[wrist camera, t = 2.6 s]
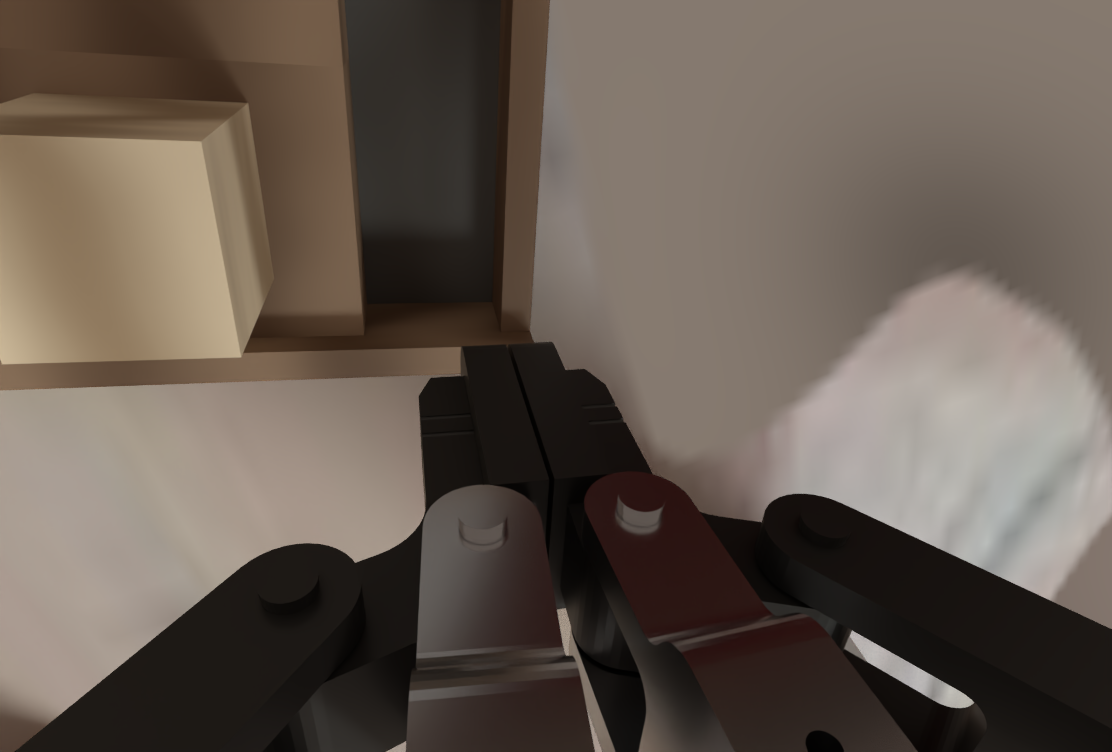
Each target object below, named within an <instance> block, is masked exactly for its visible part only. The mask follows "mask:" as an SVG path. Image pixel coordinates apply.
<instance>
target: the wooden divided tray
mask: <svg viewBox="0 0 1112 752" xmlns="http://www.w3.org/2000/svg"><path fill="white" fill-rule="evenodd" d="M549 5H550V0H0V104H1V103H4V102H7V101H11V100H14V99H17V98H20V97H23V96H26V95H30V94H33V93H42V94H64V95H86V96H108V97H130V98H152V99H174V100H196V101H218V102H240V103H248V105H249V112H250V118H251V125H252V132H253V139H254V145H255V152H256V159H257V166H258V173H259V179H260V186H261V193H262V200H263V206H264V213H265V220H266V227H267V234H268V240H269V247H270V254H271V261H272V268H273V274H274V280H273V282H272V285H271V287H270V290H269V292H268V294H267V297H266V299H265V302H264V304H263V306H262V309H261V311H260V314H259V316H258V318H257V321H256V323H255V326H254V328H253V330H252V333H251V335H250V338H249V340H248V342H247V345H246V347H245V350H244V352H243V354H242V357H238V358H204V359H169V360H135V361H101V362H66V363H32V364H2V363H1V360H0V390H23V389H51V388H79V387H106V386H134V385H162V384H189V383H217V382H245V381H272V380H300V379H328V378H355V377H383V376H410V375H438V374H461V366H460V354H461V346H478V345H499V344H506V346H508V344H518V343H534V341H533V339H532V336H531V333H530V320H531V303H532V286H533V270H534V253H535V237H536V220H537V204H538V187H539V171H540V154H541V137H542V121H543V104H544V88H545V71H546V55H547V38H548V21H549Z"/></svg>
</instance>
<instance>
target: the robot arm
mask: <svg viewBox="0 0 1112 752" xmlns="http://www.w3.org/2000/svg"><path fill="white" fill-rule="evenodd" d="M460 366H461V376H456V377H438V378H430V380H429V381H428V383H427V384H426V386H425V387H424V389H423V390H422V392H421V393H420V395H419V411H420V430H421V449H422V468H423V483H424V498H425V514H424V517H423V519H422V521H421V523H420V525H419V526H418V527H417V529H416V530H415V531H414V532H413V533H412V534H411V535H410V536H409V537H408V538H407V539H406V540H404V541H403V542H402V543H400V544H399V545H397V546H395V547H394V548H392V549H390V550H388V551H386V552H383V553H381V554H379V555H376V556H373V557H370V558H368V559H365V560H362V561H359V562H357V563H355V562H354V561H353V560H352V559H351V558H350V557H349V556H348V555H347V554H345V553H344V552H342V551H340V550H338V549H336V548H333V547H330V546H326V545H321V544H310V543H306V544H294V545H289V546H284V547H280V548H277V549H274V550H271V551H269V552H266V553H264V554H262V555H260V556H258V557H256V558H254V559H253V560H251V561H249V562H248V563H247V564H245V565H244V566H242V567H241V568H240V569H238V570H237V571H236V572H235V573H234V574H232V575H231V576H230V577H229V578H227V579H226V580H225V581H224V582H223V583H221V584H220V585H219V586H218V587H216V588H215V589H214V590H213V591H211V592H210V593H209V594H208V595H207V596H205V597H204V598H203V599H202V600H200V601H199V602H198V603H197V604H196V605H194V606H193V607H192V608H191V609H189V610H188V611H187V612H186V613H184V614H183V615H182V616H181V617H180V618H178V619H177V620H176V621H175V622H173V623H172V624H171V625H170V626H169V627H167V628H166V629H165V630H164V631H162V632H161V633H160V634H159V635H157V636H156V637H155V638H154V639H153V640H151V641H150V642H149V643H148V644H146V645H145V646H144V647H143V648H141V649H140V650H139V651H138V652H137V653H135V654H134V655H133V656H132V657H130V658H129V659H128V660H127V661H126V662H124V663H123V664H122V665H121V666H119V667H118V668H117V669H116V670H114V671H113V672H112V673H111V674H110V675H108V676H107V677H106V678H105V679H103V680H102V681H101V682H100V683H99V684H97V685H96V686H95V687H94V688H92V689H91V690H90V691H89V692H87V693H86V694H85V695H84V696H83V697H81V698H80V699H79V700H78V701H76V702H75V703H74V704H73V705H72V706H70V707H69V708H68V709H67V710H65V711H64V712H63V713H62V714H60V715H59V716H58V717H57V718H56V719H54V720H53V721H52V722H51V723H49V724H48V725H47V726H46V727H45V728H43V729H42V730H41V731H40V732H38V733H37V734H36V735H35V736H33V737H32V738H31V739H30V740H29V741H27V742H26V743H25V744H24V745H22V746H21V747H20V748H19V749H17V750H16V751H15V752H386V751H388V750H390V749H392V748H394V747H395V746H397V745H399V744H401V743H403V742H405V741H406V752H595V749H594V744H593V739H592V734H591V728H590V723H589V718H588V713H589V716H590V718H591V721H592V724H593V727H594V730H595V733H596V735H597V738H598V741H599V744H600V747H601V750H602V752H1112V629H1110V628H1108V627H1106V626H1103V625H1101V624H1099V623H1097V622H1095V621H1093V620H1090V619H1088V618H1086V617H1084V616H1082V615H1080V614H1078V613H1076V612H1073V611H1071V610H1069V609H1067V608H1065V607H1063V606H1061V605H1058V604H1056V603H1054V602H1052V601H1050V600H1048V599H1046V598H1043V597H1041V596H1039V595H1037V594H1035V593H1033V592H1031V591H1028V590H1026V589H1024V588H1022V587H1020V586H1018V585H1016V584H1013V583H1011V582H1009V581H1007V580H1005V579H1003V578H1001V577H998V576H996V575H994V574H992V573H990V572H988V571H986V570H983V569H981V568H979V567H977V566H975V565H973V564H971V563H968V562H966V561H964V560H962V559H960V558H958V557H956V556H953V555H951V554H949V553H947V552H945V551H943V550H941V549H938V548H936V547H934V546H932V545H930V544H928V543H925V542H923V541H921V540H919V539H917V538H915V537H913V536H910V535H908V534H906V533H904V532H902V531H900V530H898V529H895V528H893V527H891V526H889V525H887V524H885V523H883V522H880V521H878V520H876V519H874V518H872V517H870V516H868V515H865V514H863V513H861V512H859V511H857V510H855V509H853V508H850V507H848V506H846V505H844V504H842V503H839V502H837V501H835V500H832V499H829V498H825V497H822V496H817V495H811V494H791V495H786V496H782V497H779V498H777V499H776V500H774V501H772V502H771V503H770V504H769V505H768V507H767V508H766V510H765V513H764V517H763V520H762V522H755V521H747V520H740V519H733V518H725V517H719V516H713V515H708V514H705V513H701V512H700V511H699V510H698V508H697V507H696V506H695V504H694V503H693V501H692V500H691V498H690V497H689V496H688V495H687V494H686V492H684V491H683V490H682V489H681V488H680V487H679V486H677V485H676V484H674V483H673V482H671V481H669V480H667V479H665V478H662V477H659V476H657V475H653V474H652V472H651V470H650V468H649V466H648V464H647V462H646V460H645V459H644V457H643V455H642V453H641V451H640V449H639V447H638V445H637V443H636V442H635V440H634V438H633V436H632V434H631V432H630V430H629V428H628V427H627V425H626V423H625V422H623V417H622V415H621V413H620V411H619V410H618V408H617V407H615V402H614V400H613V398H612V396H611V394H610V393H609V391H608V389H607V387H606V385H605V384H604V383H603V382H601V381H600V380H599V379H597V378H596V377H595V376H593V375H592V374H591V373H589V372H588V371H587V370H585V369H577V370H565V368H564V366H563V364H562V362H561V359H560V357H559V355H558V353H557V350H556V348H555V346H554V344H553V343H552V342H539V343H518V344H508V346H506V344H499V345H478V346H461V354H460ZM562 608H566V610H567V614H568V617H569V621H570V624H571V631H570V641H569V656H566V655H565V652H564V648H563V643H562V637H561V631H560V625H559V619H558V613H557V609H562ZM852 630H853V631H854V632H856V633H858V634H860V635H861V636H863V637H865V638H867V639H869V640H870V641H872V642H874V643H876V644H877V645H879V646H881V647H883V648H885V649H886V650H888V651H890V652H892V653H893V654H895V655H897V656H899V657H901V658H902V659H904V660H906V661H908V662H909V663H911V664H913V665H915V666H916V667H918V668H920V669H922V670H924V671H925V672H927V673H929V674H931V675H932V676H934V677H936V678H938V679H940V680H941V681H943V682H945V683H947V684H948V685H950V686H952V687H954V688H956V689H957V690H959V691H961V692H962V693H964V694H965V695H967V696H968V697H969V698H970V699H972V700H973V701H974V704H972V705H971V706H969V707H966V708H951V707H947V706H944V705H941V704H939V703H937V702H935V701H933V700H932V699H930V698H928V697H926V696H925V695H923V694H921V693H920V692H918V691H916V690H914V689H913V688H911V687H909V686H907V685H906V684H904V683H902V682H901V681H899V680H897V679H895V678H894V677H892V676H890V675H889V674H887V673H885V672H883V671H882V670H880V669H878V668H877V667H875V666H873V665H871V664H870V663H868V662H867V661H866V659H865V658H864V657H863V655H862V654H861V652H860V651H859V649H858V648H857V646H856V645H855V643H854V642H853V640H852V639H851V638H850V634H851V632H852ZM587 710H588V712H587Z"/></svg>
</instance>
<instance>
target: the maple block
mask: <svg viewBox="0 0 1112 752" xmlns="http://www.w3.org/2000/svg"><path fill="white" fill-rule="evenodd" d="M273 280H274V274H273V268H272V261H271V254H270V247H269V240H268V234H267V227H266V220H265V213H264V206H263V200H262V193H261V186H260V179H259V173H258V166H257V159H256V152H255V145H254V139H253V132H252V125H251V118H250V112H249V105H248V103H240V102H218V101H196V100H174V99H152V98H130V97H108V96H86V95H64V94H42V93H33V94H30V95H26V96H23V97H20V98H17V99H14V100H11V101H7V102H4V103H1V104H0V360H1V363H2V364H32V363H66V362H101V361H135V360H169V359H204V358H238V357H242V354H243V352H244V350H245V347H246V345H247V342H248V340H249V338H250V335H251V333H252V330H253V328H254V326H255V323H256V321H257V318H258V316H259V314H260V311H261V309H262V306H263V304H264V302H265V299H266V297H267V294H268V292H269V290H270V287H271V285H272V282H273Z"/></svg>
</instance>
